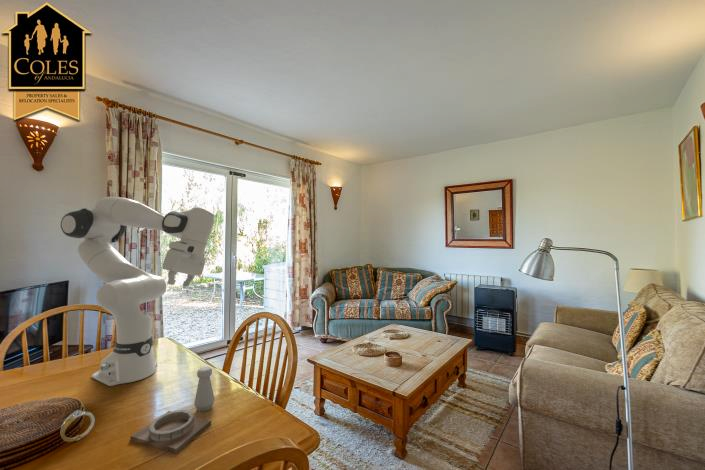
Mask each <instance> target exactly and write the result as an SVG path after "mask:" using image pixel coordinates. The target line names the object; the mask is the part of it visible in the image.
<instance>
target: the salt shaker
mask: <svg viewBox="0 0 705 470" xmlns="http://www.w3.org/2000/svg"><path fill="white" fill-rule="evenodd" d="M196 372H197V373H196V374H197V375H196V376H197V377H198V382H197V383H198V384H197V389H196V394H195V398H194V406H195V409H196V411H198V412H199V413H204V412H205V413H206V412H208V411H210V410H211V409H212V407H213V405H214V403H215V395H214V390H213V386H212V380H211V376H212V374H213V368H212V367H210V366H203V367H200V368H199V369H198V370H197V371H196Z"/></svg>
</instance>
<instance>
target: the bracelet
mask: <svg viewBox="0 0 705 470" xmlns="http://www.w3.org/2000/svg"><path fill="white" fill-rule="evenodd" d="M81 416H87V417H89V420H90V423H89V426H88V428H86V430H85V431H84V432H83V433H81V434H77V435H76V436H74V437H67V436H66V430H67V429H68V427H69V426H70V425H71V424H72V423H73V422H74V421H76V419H78V418H79V417H81ZM95 421H96V419H95V416H94V414H93V413H92V412H90V411H85V408H83V410H79V409H77V410H75V411H73V412H72V413H71V414H69V415H68V416H67V417H66V418H65V419H64V421H63V423H62V424H61V427H60V432H59V433H60V436H61V437H60V438H61V439H62V440H63V441H65V442H68V443H71V442H77V441H80V440H81V439H82V438H85V436H86V435H88V434H90V432H91V430H92V429H93V428H94V426H95Z"/></svg>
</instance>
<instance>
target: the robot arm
mask: <svg viewBox="0 0 705 470" xmlns="http://www.w3.org/2000/svg"><path fill="white" fill-rule="evenodd" d="M214 223H215V215H214V213H212V212H211V211H210V210H207V209H206V208H203V207H202V206H201V207H200V206H194V207H192V208H191V209H186V210H178V211H177V210H172V211H169V212H168V213H167V214H165V215H164V214H162V213H160V212H158V211H156V210H155V209H153V208H151V207H149V206H147V205H146V204H143V202H140V201H137V200H134V199H131V198H127V197H122V196H121V197H120V196H105V197H102V198H100V199H98V200H97V202H96V204H95V206H94V208H92V209H88V208H86V207H84V208H81V209H78V210H74V211H69V212H68V213H67V212H66V214H64V215H63V217H62V219H61V221H60V229H61V231H62V232H63V234H64V235H65V236H67V237H70V238H74V239H84V240H83V241H81V242H80V243H79V244H78V246H77V252H78V255H79V257H80V258H81V260H82V262H83V263H84V264H85V265H86V267H87V268H88V269H89V270H90V271H91V272H92V273H93V274H94V275H95V276H96V277H97V278H98V280H100V281H101V282H103V283H105V284H103V285H101V286H100V287H99V288H98V290H97V291H96V295H95V296H96V302H97V304H98V305H99V307H101V308H102V309H104V310H106V311H108V312H109V313H110V315H112V317H113V319H114V321H115V326H116V327H115V328H116V341H115V342H112V343H111V344H112V345H111V346H112V347H113V346H114V347H113V350H112V352H110V353H109V354H108V355H107V356H106V357H104V358H103V359H102V360H100V364H99V366H100V367H99V370H97V371H96V372H94V373H92V374H91V379H94V380H96V381H98V382H100V383H101V384H104V385H106V386H109V387H113V386H118V385H121V384H128V383H133V382H136V381H140V380H141V381H142V380H144V379H146V378H148V377H150V376H152V375H153V374H154V373H156V371H157V366H158V362H156V359H155V358H156V357H155V348H154V347H153V343H154V339H153V336H152V317H150V315H148V314H146V313H143V312H142V310H141V307H140V306H141V305H142V304H144V303H148V302H149V303H150V302H152V301H154V300H157V299H158V298H160V297H162V296H163V295H164V294H165V293H166V291H167V284H168V285H171V286H174V285H175V283H176V282H177V280H176V276H177V274H178V273H180V274H185V275H187V276H186V277H187V278H186V279H185V280H183V283H182V286H184V287H190V286H191V285H190V284H191V283H192V282H193V280H194V279H195V277H200V276H201V275H203V271H204V267H205V264H206V256H205V254H204V253H205V250H206V248H207V244H208V239H209V237H210V235H211V233H212V230H213V227H214ZM127 227H130V228H137V229H148V230H155V231H161V232H164V233H166V234H168V235H169V236H173V237H175V238H178V239H180V240H177V241H171V242H169V245H168V250H167V252H166V254H165V256H164V259H163V262H162V269H163V270H165V271H168V273H167V275H168V276H167V277H168V280H167V282H166V281H165V279H164V277H162V276H160V275H156V274H153V273H150V272H148V271H146V270H143V269H141V268H139V267H137V266H135V264H132V263H131V262H129V260H127V259H126V258H125V257H124V256H123V255H122V254H121V252H119V251H118V250H117V248H115V247H114V246H113V245H112V243H115V242H117V241H119V239H120V238H121V237H122V236H123V235H124V233H125V232H126V230H127Z"/></svg>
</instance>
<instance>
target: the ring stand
mask: <svg viewBox="0 0 705 470" xmlns="http://www.w3.org/2000/svg"><path fill="white" fill-rule="evenodd" d="M211 425H212V420H210V419H205V418H201V417H197V416H195V415H194V413H193V412H192V411H191V410H187V409H179V410H172V411H171V410H168V411H167V412H165V413H164V414H162V415H160V416H159V417H157V418H155V419H154V420H152V422H150V423H148V424H146V425H145V426H144V427H143V428H141V429H139V430H138V431H136V432H134V433H133V434H131V435H130V440H129V441H130V442H134V443H138V444H141V445H144V446H148V447H152V448H156V449H159V450H162V451H167V452H169V453H173V454H177V453H179V452H180V451H181V450H182V449H184V447H186V446H188V444H190V443H191V442H192V441H193V440H195V439H196V438H197V437H199V435H201V434H202V433H203V432H204V431H205V430H206V429H207V428H209V427H210V426H211Z"/></svg>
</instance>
